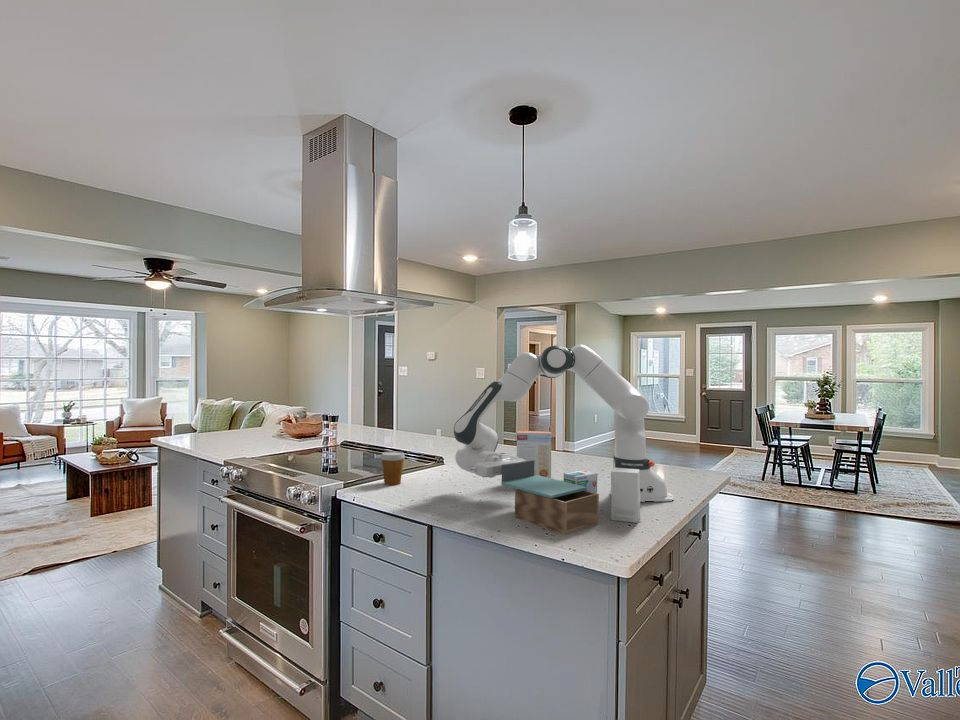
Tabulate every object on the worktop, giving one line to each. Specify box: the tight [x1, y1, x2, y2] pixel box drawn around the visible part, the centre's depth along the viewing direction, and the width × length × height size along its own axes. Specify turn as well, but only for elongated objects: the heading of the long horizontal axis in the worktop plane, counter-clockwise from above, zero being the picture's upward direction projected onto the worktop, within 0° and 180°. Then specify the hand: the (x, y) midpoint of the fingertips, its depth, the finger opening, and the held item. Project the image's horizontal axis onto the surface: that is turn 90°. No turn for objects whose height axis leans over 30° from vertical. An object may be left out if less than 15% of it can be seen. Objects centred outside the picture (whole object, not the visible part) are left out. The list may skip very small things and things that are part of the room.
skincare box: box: [610, 468, 641, 524], centre depth 159 cm, size 8×7×16 cm
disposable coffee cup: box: [380, 450, 406, 486], centre depth 200 cm, size 10×10×12 cm
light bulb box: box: [563, 469, 598, 494], centre depth 176 cm, size 11×7×11 cm, turn 126°
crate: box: [514, 488, 600, 535], centre depth 156 cm, size 20×16×9 cm
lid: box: [500, 460, 587, 498], centre depth 161 cm, size 22×17×6 cm
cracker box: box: [516, 430, 552, 479], centre depth 206 cm, size 14×6×21 cm, turn 84°
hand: (517, 471), depth 169 cm, fingers closed, pressing on lid
